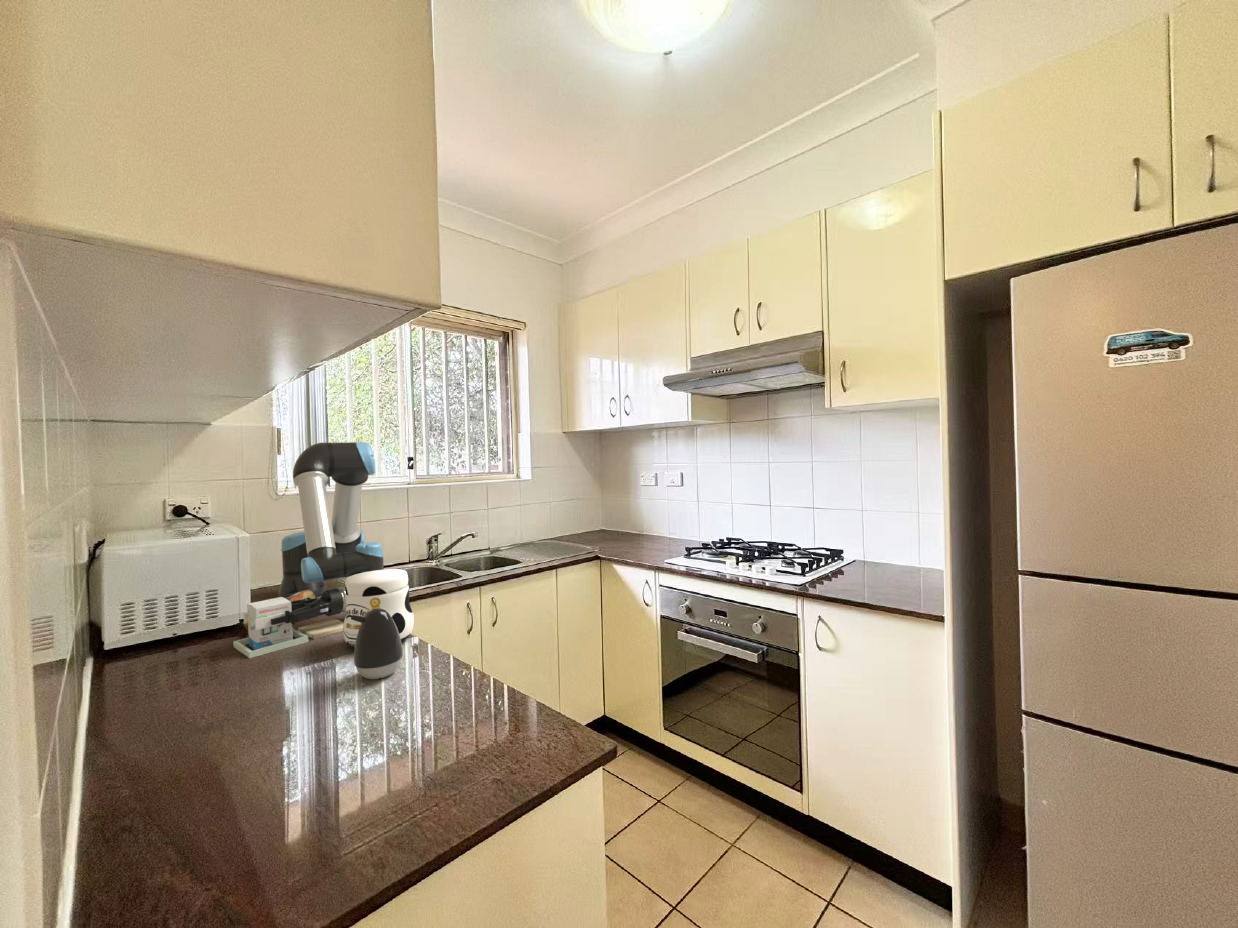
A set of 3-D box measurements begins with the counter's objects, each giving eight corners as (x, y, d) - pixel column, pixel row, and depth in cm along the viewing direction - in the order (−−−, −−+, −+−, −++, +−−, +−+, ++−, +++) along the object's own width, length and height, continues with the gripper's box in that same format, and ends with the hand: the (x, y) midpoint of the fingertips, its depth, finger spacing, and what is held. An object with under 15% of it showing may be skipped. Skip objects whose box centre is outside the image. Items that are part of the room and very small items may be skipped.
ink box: (256, 652, 134) (254, 608, 133) (248, 645, 139) (246, 603, 139) (294, 643, 140) (291, 600, 140) (284, 636, 146) (282, 595, 145)
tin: (288, 627, 153) (287, 599, 153) (278, 627, 154) (276, 600, 153) (318, 611, 168) (317, 586, 168) (309, 612, 169) (308, 586, 168)
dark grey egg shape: (357, 669, 120) (354, 605, 120) (405, 662, 124) (402, 600, 123) (349, 688, 111) (346, 618, 110) (401, 679, 114) (398, 612, 114)
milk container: (335, 658, 128) (331, 586, 128) (353, 634, 145) (350, 571, 145) (409, 649, 132) (405, 580, 132) (418, 627, 149) (415, 566, 149)
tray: (233, 646, 139) (233, 641, 139) (290, 632, 149) (290, 626, 149) (249, 658, 130) (249, 652, 130) (308, 641, 141) (308, 636, 140)
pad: (297, 630, 150) (297, 627, 150) (334, 621, 158) (333, 618, 158) (314, 639, 142) (313, 635, 142) (351, 628, 150) (351, 625, 150)
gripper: (356, 619, 147) (263, 644, 129) (325, 607, 160) (238, 627, 143) (354, 593, 146) (262, 614, 129) (324, 583, 160) (236, 601, 142)
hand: (249, 621), depth 136 cm, fingers closed on ink box, 9 cm apart
